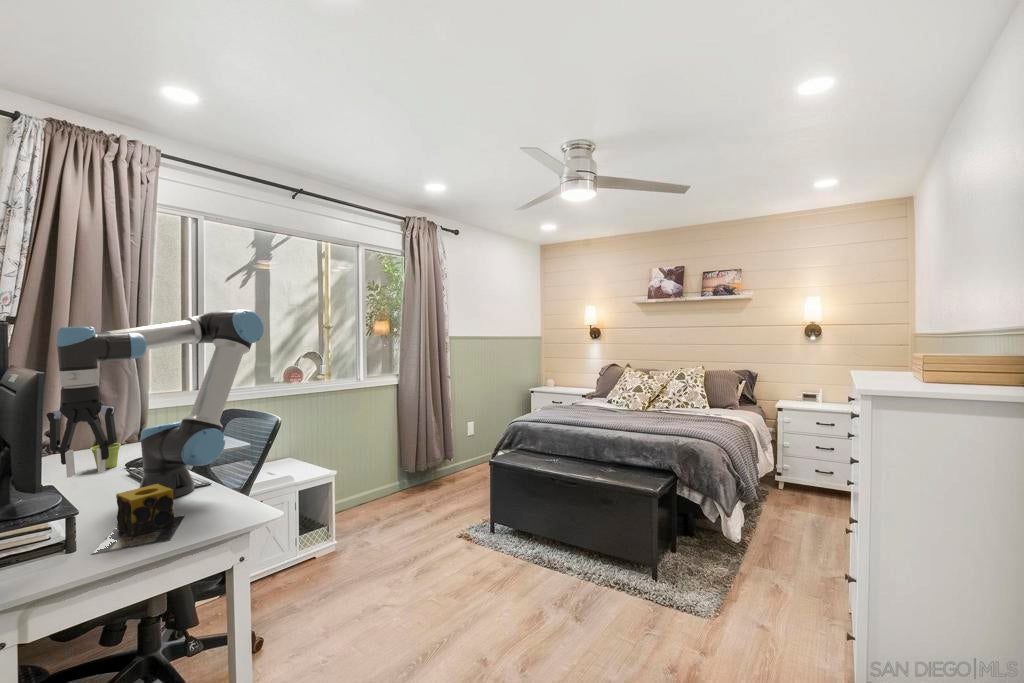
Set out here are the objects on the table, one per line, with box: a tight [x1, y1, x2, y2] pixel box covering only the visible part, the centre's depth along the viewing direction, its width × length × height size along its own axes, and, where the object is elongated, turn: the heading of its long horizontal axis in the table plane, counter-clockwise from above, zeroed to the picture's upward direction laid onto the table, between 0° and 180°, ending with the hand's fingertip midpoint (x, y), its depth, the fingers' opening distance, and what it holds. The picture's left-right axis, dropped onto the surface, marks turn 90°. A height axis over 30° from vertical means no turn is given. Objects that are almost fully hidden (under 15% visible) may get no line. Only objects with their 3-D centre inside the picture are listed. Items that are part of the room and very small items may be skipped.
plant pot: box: [90, 442, 121, 470], centre depth 195 cm, size 9×9×9 cm
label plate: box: [96, 515, 186, 554], centre depth 129 cm, size 18×16×1 cm
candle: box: [115, 484, 175, 537], centre depth 132 cm, size 10×10×10 cm
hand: (86, 473), depth 127 cm, fingers open, 6 cm apart
